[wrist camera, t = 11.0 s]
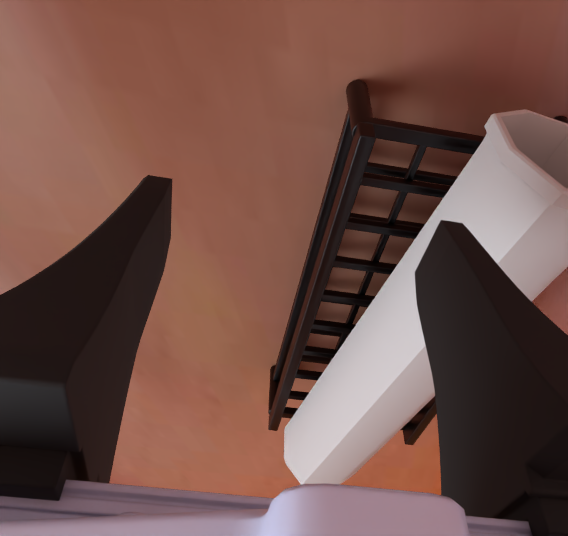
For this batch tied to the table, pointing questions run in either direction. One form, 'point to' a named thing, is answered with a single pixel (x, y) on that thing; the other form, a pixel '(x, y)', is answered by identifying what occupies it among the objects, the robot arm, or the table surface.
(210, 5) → the table surface
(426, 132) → the shoe rack
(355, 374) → the tube
